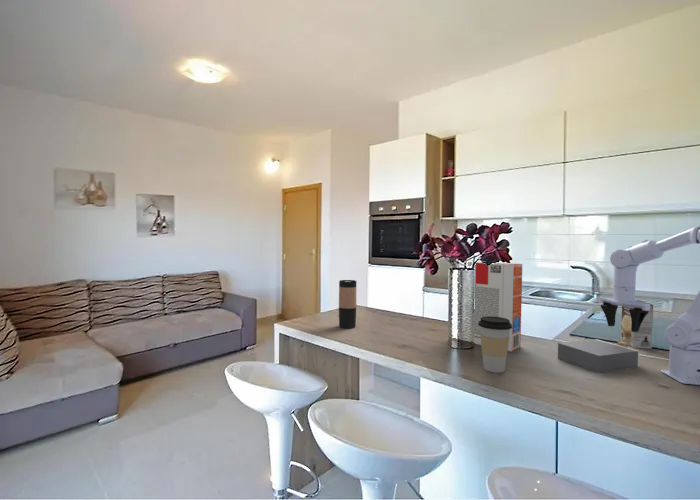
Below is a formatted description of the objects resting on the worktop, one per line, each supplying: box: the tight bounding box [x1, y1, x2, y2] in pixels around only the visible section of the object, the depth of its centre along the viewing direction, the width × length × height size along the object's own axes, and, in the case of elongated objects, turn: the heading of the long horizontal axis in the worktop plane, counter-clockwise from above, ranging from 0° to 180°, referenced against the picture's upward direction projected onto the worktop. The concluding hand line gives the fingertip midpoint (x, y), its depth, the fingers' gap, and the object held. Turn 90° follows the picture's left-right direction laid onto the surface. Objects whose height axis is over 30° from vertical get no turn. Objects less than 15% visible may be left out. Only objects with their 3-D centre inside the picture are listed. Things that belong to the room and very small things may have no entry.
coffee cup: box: [478, 316, 512, 374], centre depth 109 cm, size 9×9×15 cm
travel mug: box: [338, 279, 358, 330], centre depth 161 cm, size 8×8×20 cm
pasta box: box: [468, 260, 523, 352], centre depth 138 cm, size 23×8×30 cm, turn 46°
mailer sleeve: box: [557, 338, 639, 374], centre depth 117 cm, size 16×14×5 cm
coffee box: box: [620, 300, 654, 350], centre depth 137 cm, size 9×6×16 cm
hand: (622, 328), depth 120 cm, fingers open, 7 cm apart
